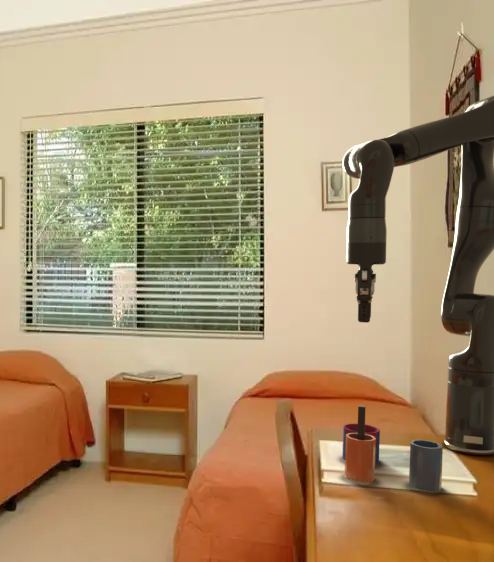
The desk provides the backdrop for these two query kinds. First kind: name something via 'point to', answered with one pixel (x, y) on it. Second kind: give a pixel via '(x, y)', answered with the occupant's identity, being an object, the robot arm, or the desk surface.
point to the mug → (368, 430)
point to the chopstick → (361, 422)
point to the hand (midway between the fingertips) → (364, 320)
